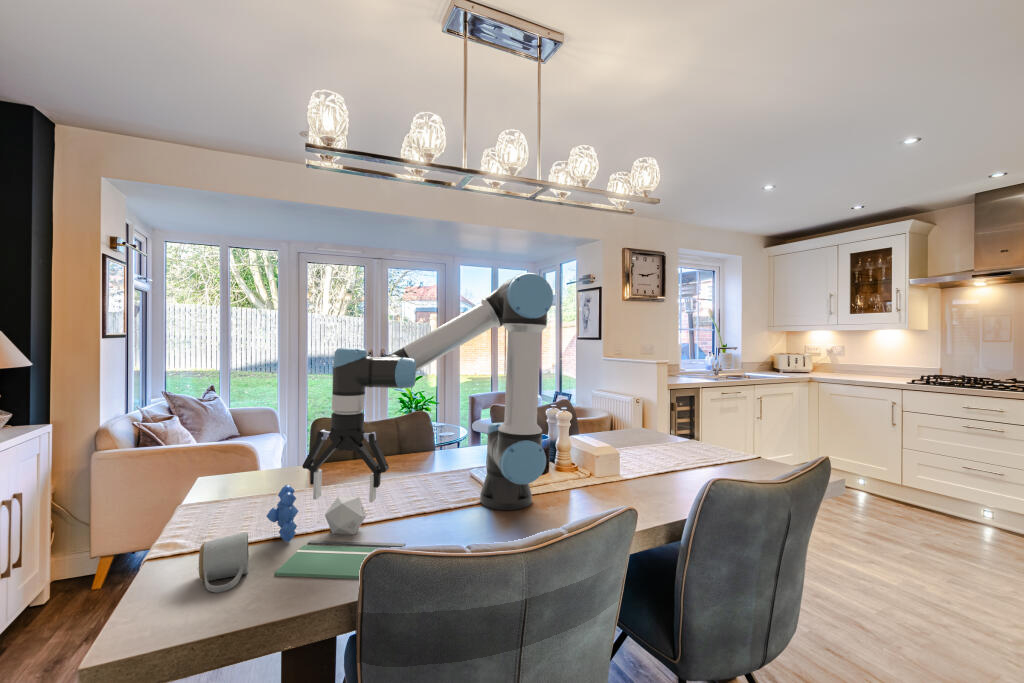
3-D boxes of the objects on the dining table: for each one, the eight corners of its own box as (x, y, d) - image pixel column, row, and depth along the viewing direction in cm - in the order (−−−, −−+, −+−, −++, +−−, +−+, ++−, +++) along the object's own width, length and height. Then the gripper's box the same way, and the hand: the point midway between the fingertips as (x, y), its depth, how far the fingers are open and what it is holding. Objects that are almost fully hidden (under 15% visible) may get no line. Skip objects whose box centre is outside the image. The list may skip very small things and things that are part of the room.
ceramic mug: (201, 571, 91) (201, 533, 91) (248, 562, 95) (249, 526, 95) (195, 599, 82) (196, 557, 82) (248, 588, 86) (248, 548, 86)
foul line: (404, 544, 105) (404, 543, 105) (403, 547, 104) (403, 545, 104) (310, 541, 106) (310, 540, 106) (307, 543, 104) (307, 542, 104)
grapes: (264, 532, 110) (265, 482, 110) (295, 526, 113) (296, 478, 113) (267, 552, 100) (268, 497, 100) (301, 545, 103) (302, 492, 103)
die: (341, 546, 105) (369, 507, 108) (311, 523, 107) (339, 485, 110) (352, 543, 113) (378, 507, 116) (324, 522, 114) (350, 487, 118)
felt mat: (401, 551, 102) (401, 548, 102) (384, 579, 90) (385, 576, 90) (303, 547, 102) (303, 544, 102) (274, 575, 90) (274, 572, 90)
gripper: (403, 411, 114) (399, 496, 115) (304, 407, 115) (301, 491, 115) (394, 416, 107) (391, 507, 107) (289, 411, 108) (285, 501, 108)
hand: (344, 499), depth 111 cm, fingers open, 13 cm apart
